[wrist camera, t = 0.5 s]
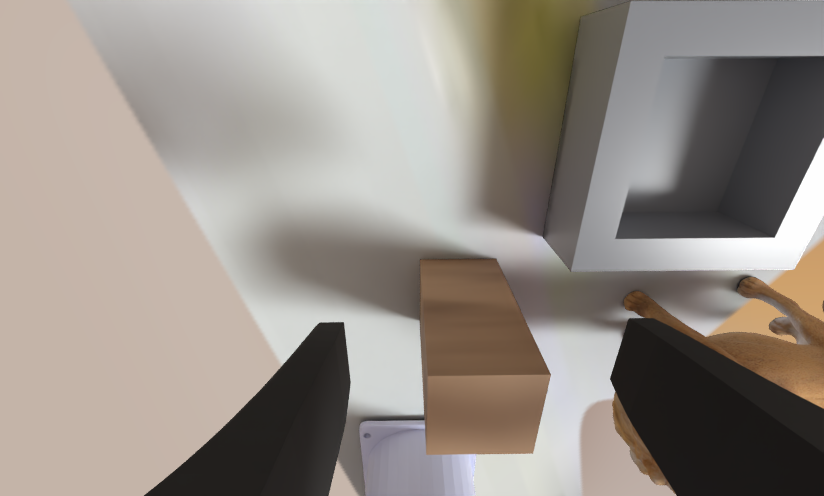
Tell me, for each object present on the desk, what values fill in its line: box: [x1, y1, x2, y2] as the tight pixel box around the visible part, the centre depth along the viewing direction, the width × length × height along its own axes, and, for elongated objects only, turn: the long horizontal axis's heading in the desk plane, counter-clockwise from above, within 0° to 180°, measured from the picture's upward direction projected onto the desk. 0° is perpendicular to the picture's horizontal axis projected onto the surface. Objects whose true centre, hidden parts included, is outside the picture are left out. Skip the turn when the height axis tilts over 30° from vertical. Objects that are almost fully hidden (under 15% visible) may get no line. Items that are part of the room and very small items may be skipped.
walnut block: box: [420, 259, 551, 455], centre depth 16 cm, size 4×4×8 cm
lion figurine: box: [612, 277, 824, 493], centre depth 16 cm, size 15×5×9 cm, turn 104°
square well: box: [543, 0, 824, 272], centre depth 15 cm, size 10×10×4 cm
